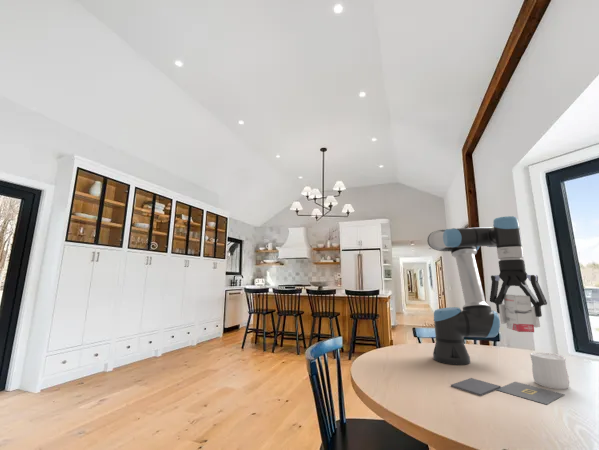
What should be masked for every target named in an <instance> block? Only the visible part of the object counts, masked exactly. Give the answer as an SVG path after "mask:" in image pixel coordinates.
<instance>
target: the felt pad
mask: <svg viewBox="0 0 599 450" xmlns="http://www.w3.org/2000/svg"><path fill="white" fill-rule="evenodd" d="M450 386H451V388H454V389H458V390H460V391H464V392H467V393H470V394H473V395H477V396H479V397H482V396H485V395H487V394H490V393H492V392H495V391H497V390H496V389H498V388H500V387H502V386H501V385H498V384H495V383H492V382H486V381H484V380H480V379H477V378H473V377H470V378H467V379H463V380H460V381H458V382H454V383H452V384H450Z"/></svg>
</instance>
